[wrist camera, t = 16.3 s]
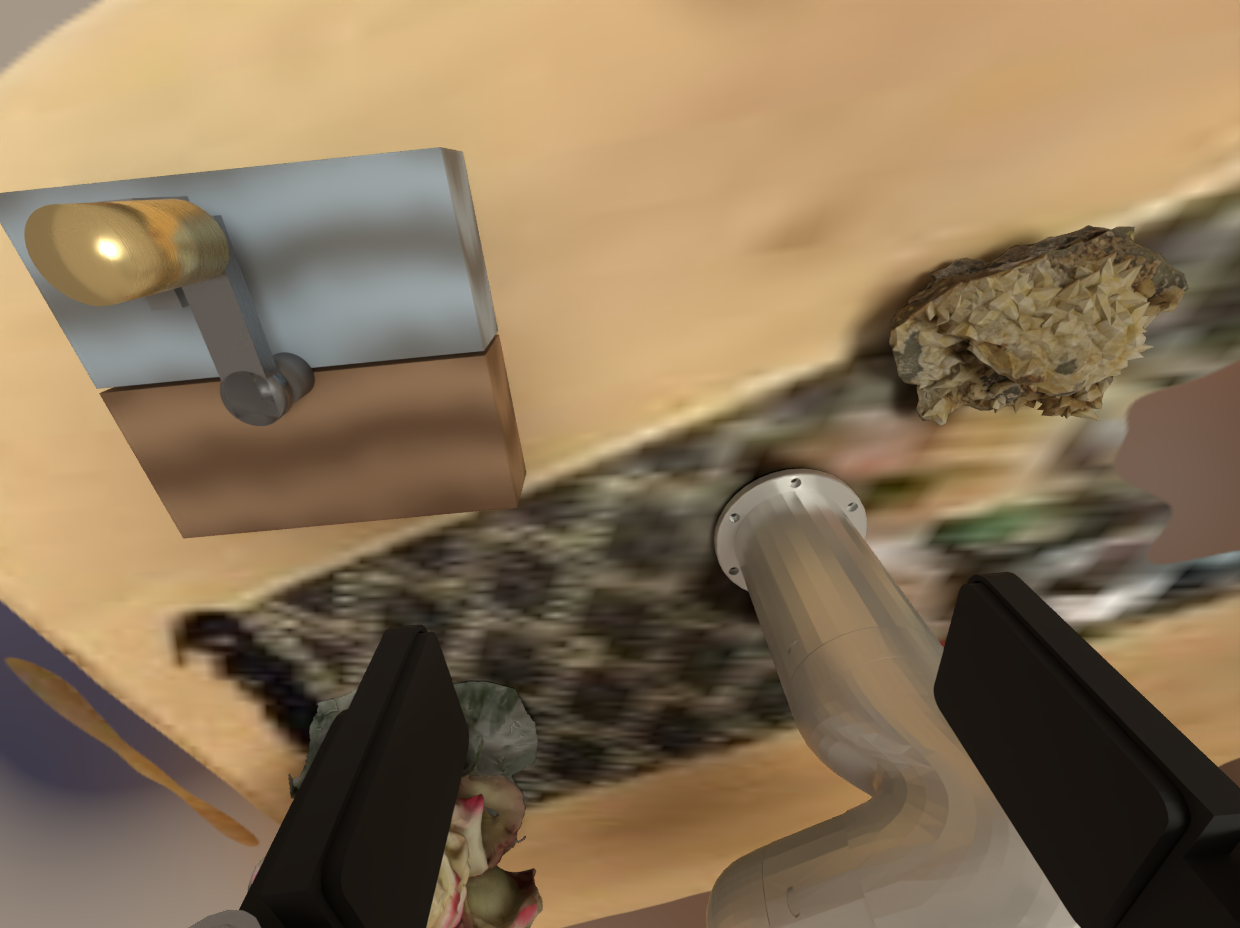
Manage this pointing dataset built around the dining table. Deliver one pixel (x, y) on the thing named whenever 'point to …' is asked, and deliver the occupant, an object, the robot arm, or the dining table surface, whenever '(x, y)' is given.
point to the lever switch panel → (313, 348)
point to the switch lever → (165, 283)
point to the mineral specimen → (1033, 324)
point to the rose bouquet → (474, 811)
